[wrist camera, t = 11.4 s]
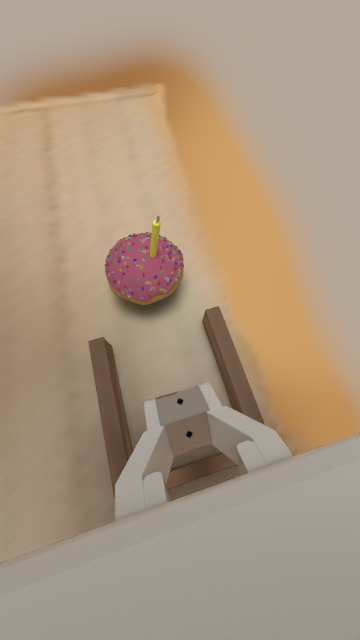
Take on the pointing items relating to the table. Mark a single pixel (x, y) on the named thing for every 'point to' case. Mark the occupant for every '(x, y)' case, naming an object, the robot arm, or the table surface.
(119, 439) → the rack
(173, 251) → the cupcake
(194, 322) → the table surface
